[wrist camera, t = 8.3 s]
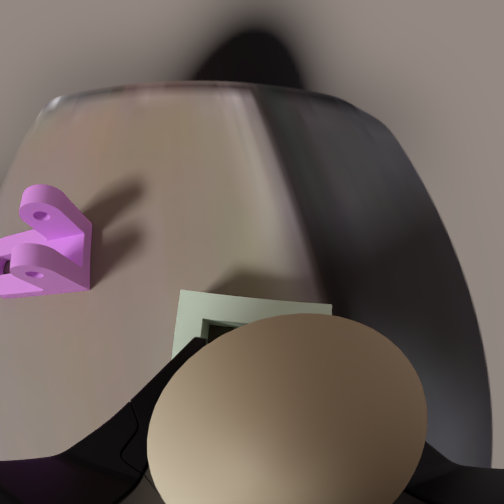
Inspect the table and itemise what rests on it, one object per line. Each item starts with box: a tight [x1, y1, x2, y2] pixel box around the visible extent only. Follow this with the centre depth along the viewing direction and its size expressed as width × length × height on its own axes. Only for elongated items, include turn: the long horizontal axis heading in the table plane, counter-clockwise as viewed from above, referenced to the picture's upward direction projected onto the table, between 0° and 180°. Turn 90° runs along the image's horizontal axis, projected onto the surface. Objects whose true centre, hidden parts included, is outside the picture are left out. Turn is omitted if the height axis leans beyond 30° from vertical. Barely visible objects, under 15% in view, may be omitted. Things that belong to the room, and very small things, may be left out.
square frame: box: [172, 290, 332, 359], centre depth 15 cm, size 8×8×4 cm
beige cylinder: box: [147, 313, 427, 504], centre depth 8 cm, size 4×4×12 cm
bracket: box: [0, 184, 92, 298], centre depth 15 cm, size 13×6×7 cm, turn 99°
